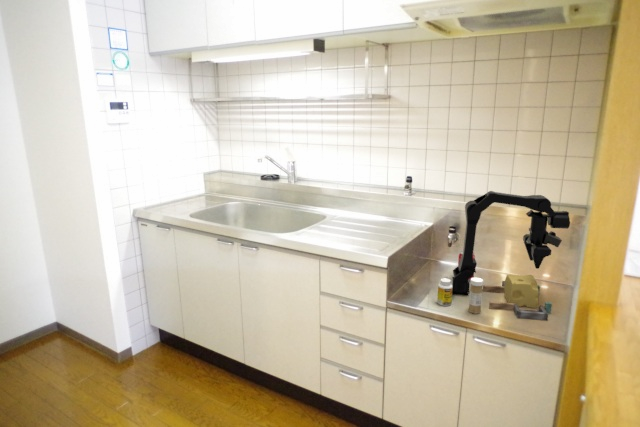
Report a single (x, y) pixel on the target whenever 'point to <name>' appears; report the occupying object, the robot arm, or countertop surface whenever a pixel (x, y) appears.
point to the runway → (520, 313)
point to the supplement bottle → (445, 292)
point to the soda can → (459, 261)
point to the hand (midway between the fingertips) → (534, 264)
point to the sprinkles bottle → (475, 295)
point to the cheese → (521, 290)
